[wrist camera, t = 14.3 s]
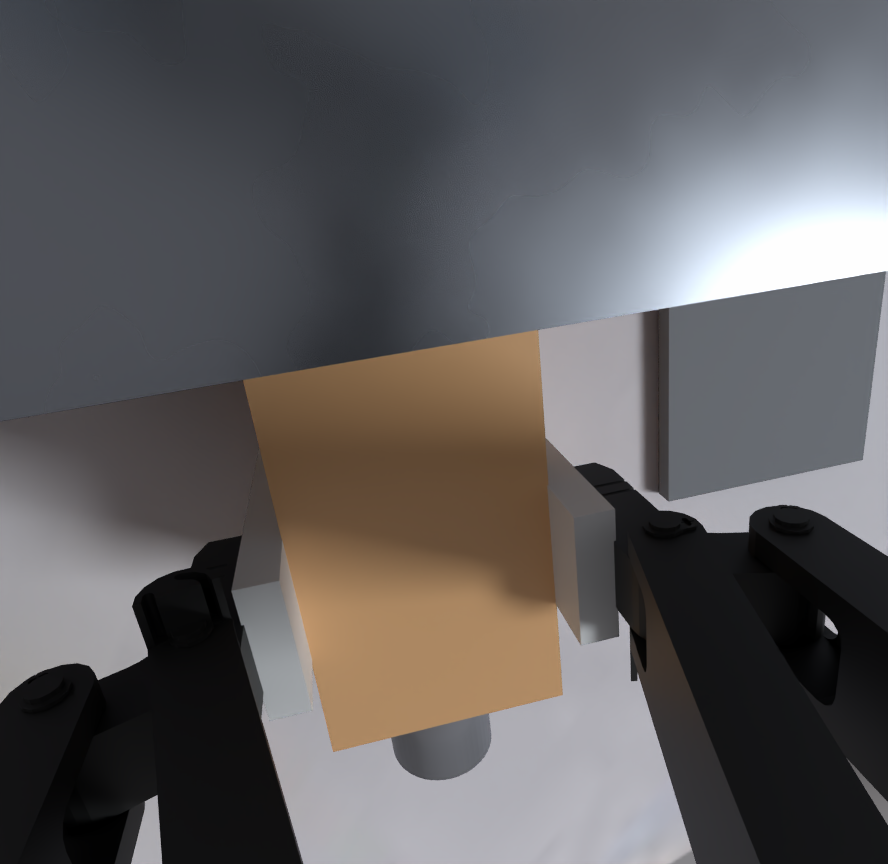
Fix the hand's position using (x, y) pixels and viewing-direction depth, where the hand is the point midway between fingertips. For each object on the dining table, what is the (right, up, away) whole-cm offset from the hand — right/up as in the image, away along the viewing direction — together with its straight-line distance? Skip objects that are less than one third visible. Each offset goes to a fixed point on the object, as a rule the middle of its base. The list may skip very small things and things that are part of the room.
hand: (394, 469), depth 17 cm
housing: (-1, +8, -1) cm, 8 cm away
